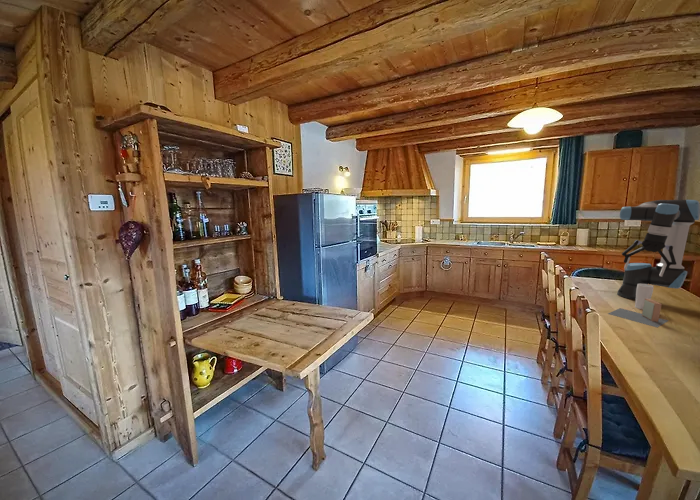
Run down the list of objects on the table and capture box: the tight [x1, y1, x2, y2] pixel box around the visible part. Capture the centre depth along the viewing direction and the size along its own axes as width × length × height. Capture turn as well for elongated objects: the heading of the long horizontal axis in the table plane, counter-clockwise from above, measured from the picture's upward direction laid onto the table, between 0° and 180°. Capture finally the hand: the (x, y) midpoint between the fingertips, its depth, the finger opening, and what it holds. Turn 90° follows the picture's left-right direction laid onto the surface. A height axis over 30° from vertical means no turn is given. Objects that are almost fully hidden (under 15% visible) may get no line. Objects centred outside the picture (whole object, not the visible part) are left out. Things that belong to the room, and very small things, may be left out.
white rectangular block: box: [634, 284, 655, 311], centre depth 166 cm, size 7×7×15 cm
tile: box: [641, 298, 663, 322], centre depth 152 cm, size 3×8×10 cm, turn 163°
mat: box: [607, 308, 669, 328], centre depth 155 cm, size 17×20×1 cm
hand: (642, 272), depth 149 cm, fingers open, 13 cm apart
